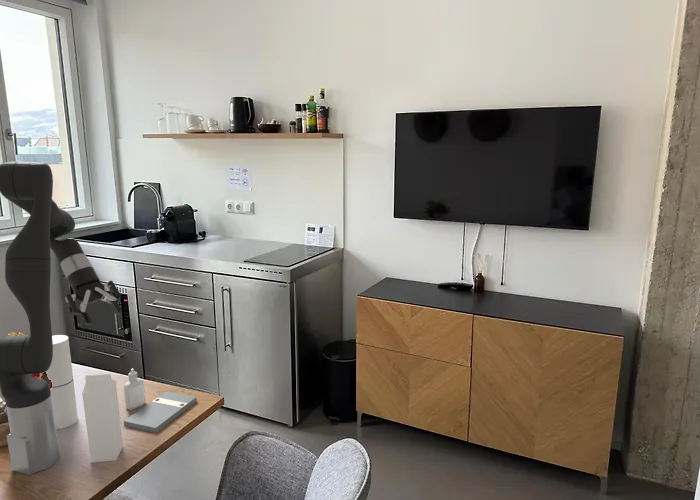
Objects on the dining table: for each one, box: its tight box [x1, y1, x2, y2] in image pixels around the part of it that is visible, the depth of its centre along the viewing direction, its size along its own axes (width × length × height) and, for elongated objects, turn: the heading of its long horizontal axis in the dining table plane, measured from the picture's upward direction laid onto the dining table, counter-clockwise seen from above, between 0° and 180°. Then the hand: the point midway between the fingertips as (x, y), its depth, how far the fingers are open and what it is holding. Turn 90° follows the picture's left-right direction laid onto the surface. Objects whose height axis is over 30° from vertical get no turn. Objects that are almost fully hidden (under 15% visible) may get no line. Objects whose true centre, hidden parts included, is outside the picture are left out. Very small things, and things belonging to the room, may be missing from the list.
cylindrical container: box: [46, 334, 79, 430], centre depth 138 cm, size 7×7×25 cm
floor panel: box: [123, 391, 197, 433], centre depth 145 cm, size 18×11×2 cm, turn 161°
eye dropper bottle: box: [123, 368, 146, 410], centre depth 148 cm, size 4×6×12 cm
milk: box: [81, 373, 124, 464], centre depth 123 cm, size 6×6×22 cm
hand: (104, 319), depth 145 cm, fingers open, 8 cm apart
